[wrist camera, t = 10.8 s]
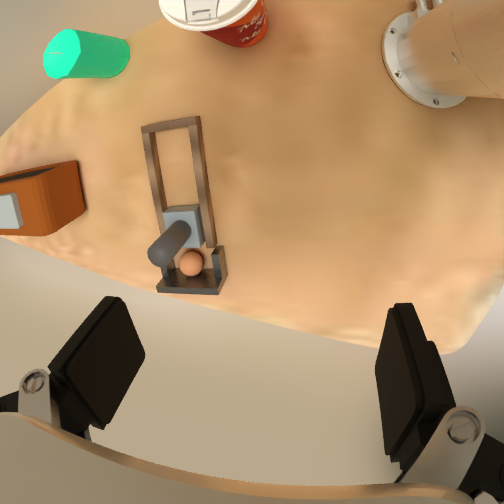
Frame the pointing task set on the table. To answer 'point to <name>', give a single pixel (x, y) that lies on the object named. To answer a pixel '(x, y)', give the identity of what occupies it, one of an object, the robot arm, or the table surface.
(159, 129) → the frame
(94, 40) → the candle
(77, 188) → the alarm clock
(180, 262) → the ball
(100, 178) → the table surface
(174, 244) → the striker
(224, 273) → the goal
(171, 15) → the coffee cup
